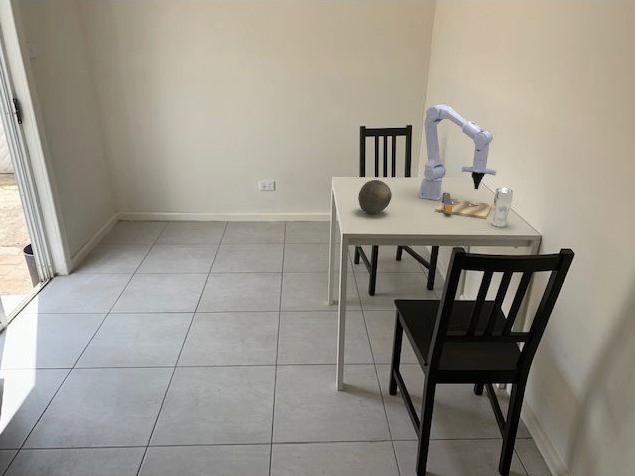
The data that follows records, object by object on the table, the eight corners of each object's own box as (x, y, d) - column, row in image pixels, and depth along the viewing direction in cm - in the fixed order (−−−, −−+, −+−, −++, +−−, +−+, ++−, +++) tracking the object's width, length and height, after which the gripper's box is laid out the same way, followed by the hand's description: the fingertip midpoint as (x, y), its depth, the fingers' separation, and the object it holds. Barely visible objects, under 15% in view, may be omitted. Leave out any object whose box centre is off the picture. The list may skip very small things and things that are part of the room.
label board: (434, 211, 212) (435, 207, 212) (443, 200, 227) (444, 196, 226) (485, 219, 203) (486, 215, 203) (491, 206, 218) (492, 203, 217)
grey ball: (364, 220, 203) (366, 186, 197) (353, 209, 215) (354, 177, 209) (395, 217, 206) (397, 184, 200) (382, 206, 219) (384, 175, 213)
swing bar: (442, 198, 222) (442, 192, 221) (448, 199, 222) (449, 192, 220) (444, 212, 205) (445, 205, 204) (452, 212, 205) (453, 205, 204)
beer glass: (495, 220, 202) (500, 186, 196) (510, 224, 197) (516, 190, 192) (487, 224, 198) (492, 190, 192) (503, 228, 193) (508, 193, 187)
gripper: (461, 159, 207) (458, 189, 212) (496, 162, 201) (491, 193, 206) (464, 156, 212) (461, 184, 218) (498, 159, 206) (494, 189, 212)
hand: (476, 188), depth 212 cm, fingers closed
